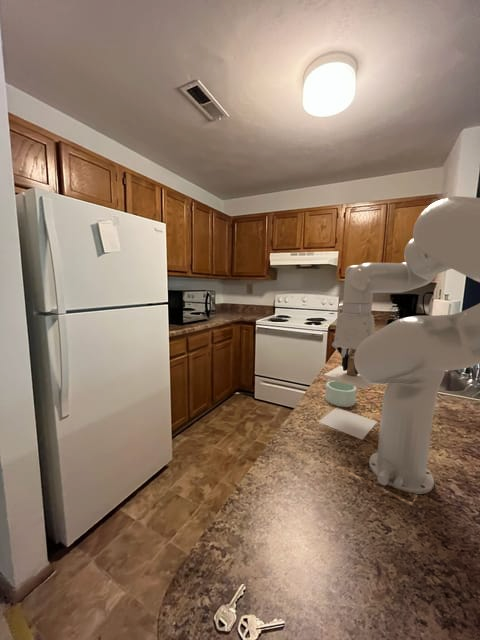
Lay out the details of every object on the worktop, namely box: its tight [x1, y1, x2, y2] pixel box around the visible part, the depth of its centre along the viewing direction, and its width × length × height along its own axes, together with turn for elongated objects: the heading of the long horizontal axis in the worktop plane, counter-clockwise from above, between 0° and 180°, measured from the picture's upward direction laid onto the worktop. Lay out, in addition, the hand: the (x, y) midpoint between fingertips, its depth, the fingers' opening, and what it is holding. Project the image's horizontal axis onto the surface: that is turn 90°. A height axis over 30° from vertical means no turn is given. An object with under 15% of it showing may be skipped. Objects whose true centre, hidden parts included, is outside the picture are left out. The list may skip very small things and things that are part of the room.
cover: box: [323, 356, 374, 390], centre depth 79 cm, size 12×12×6 cm
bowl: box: [324, 380, 358, 408], centre depth 96 cm, size 10×10×6 cm
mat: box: [317, 406, 378, 440], centre depth 82 cm, size 13×13×1 cm
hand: (352, 370), depth 79 cm, fingers closed on cover, 3 cm apart
